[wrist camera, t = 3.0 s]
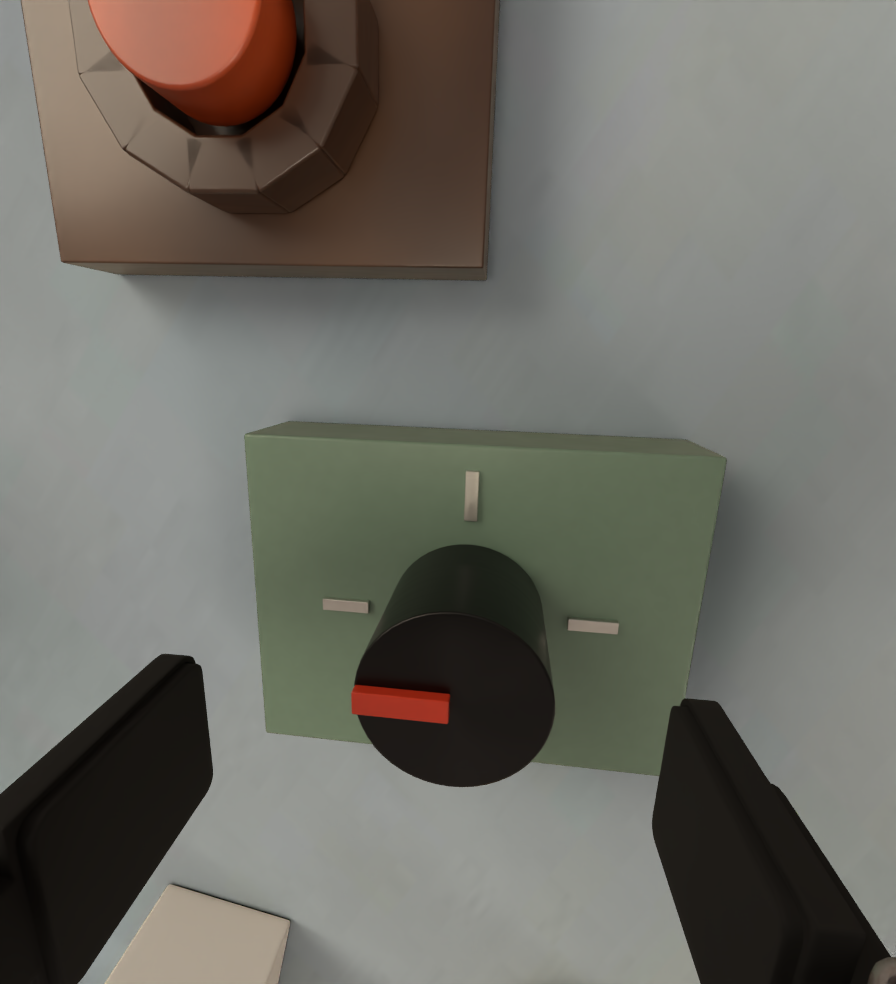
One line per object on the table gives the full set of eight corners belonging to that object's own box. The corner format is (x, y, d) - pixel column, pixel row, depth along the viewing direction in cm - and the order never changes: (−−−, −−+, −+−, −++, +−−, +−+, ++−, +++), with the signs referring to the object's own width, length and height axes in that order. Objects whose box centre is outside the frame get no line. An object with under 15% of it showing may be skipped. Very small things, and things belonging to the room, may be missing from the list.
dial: (548, 549, 14) (566, 629, 10) (536, 687, 15) (547, 810, 11) (392, 538, 14) (346, 610, 10) (392, 672, 16) (350, 787, 11)
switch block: (504, -98, 13) (503, -291, 9) (486, 280, 15) (479, 254, 11) (73, -73, 14) (-90, -233, 10) (117, 274, 16) (-2, 249, 13)
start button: (294, -71, 11) (254, -153, 9) (302, 126, 12) (266, 87, 10) (133, -63, 11) (66, -139, 9) (154, 129, 12) (95, 91, 10)
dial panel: (688, 439, 16) (731, 458, 13) (646, 712, 18) (673, 783, 15) (287, 420, 17) (239, 434, 14) (300, 678, 20) (262, 737, 17)
